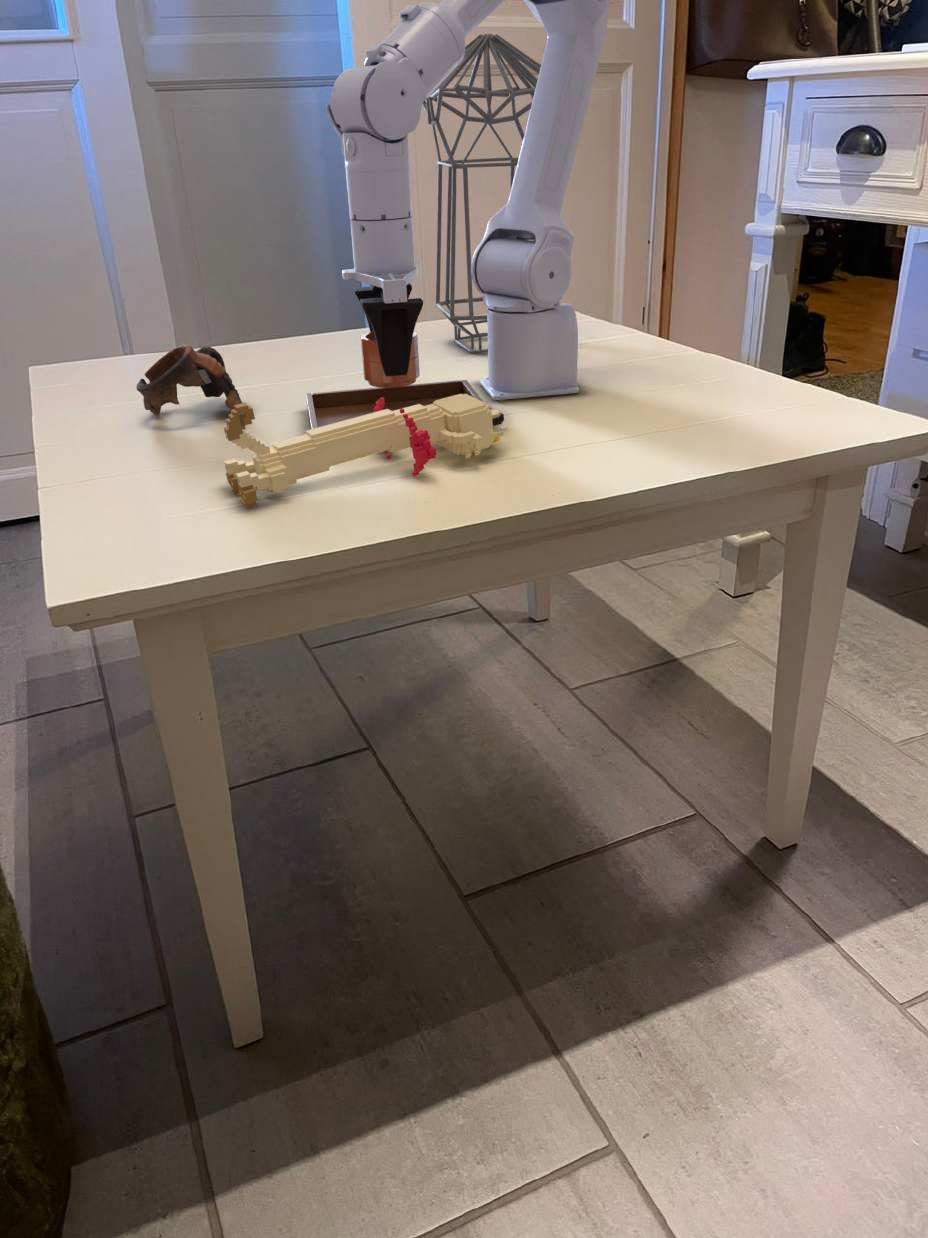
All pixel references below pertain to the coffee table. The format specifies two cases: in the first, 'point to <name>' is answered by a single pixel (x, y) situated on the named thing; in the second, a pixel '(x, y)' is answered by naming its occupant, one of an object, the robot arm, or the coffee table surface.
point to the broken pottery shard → (187, 377)
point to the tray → (362, 401)
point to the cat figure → (359, 441)
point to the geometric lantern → (513, 60)
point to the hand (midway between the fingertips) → (392, 367)
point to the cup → (375, 369)
